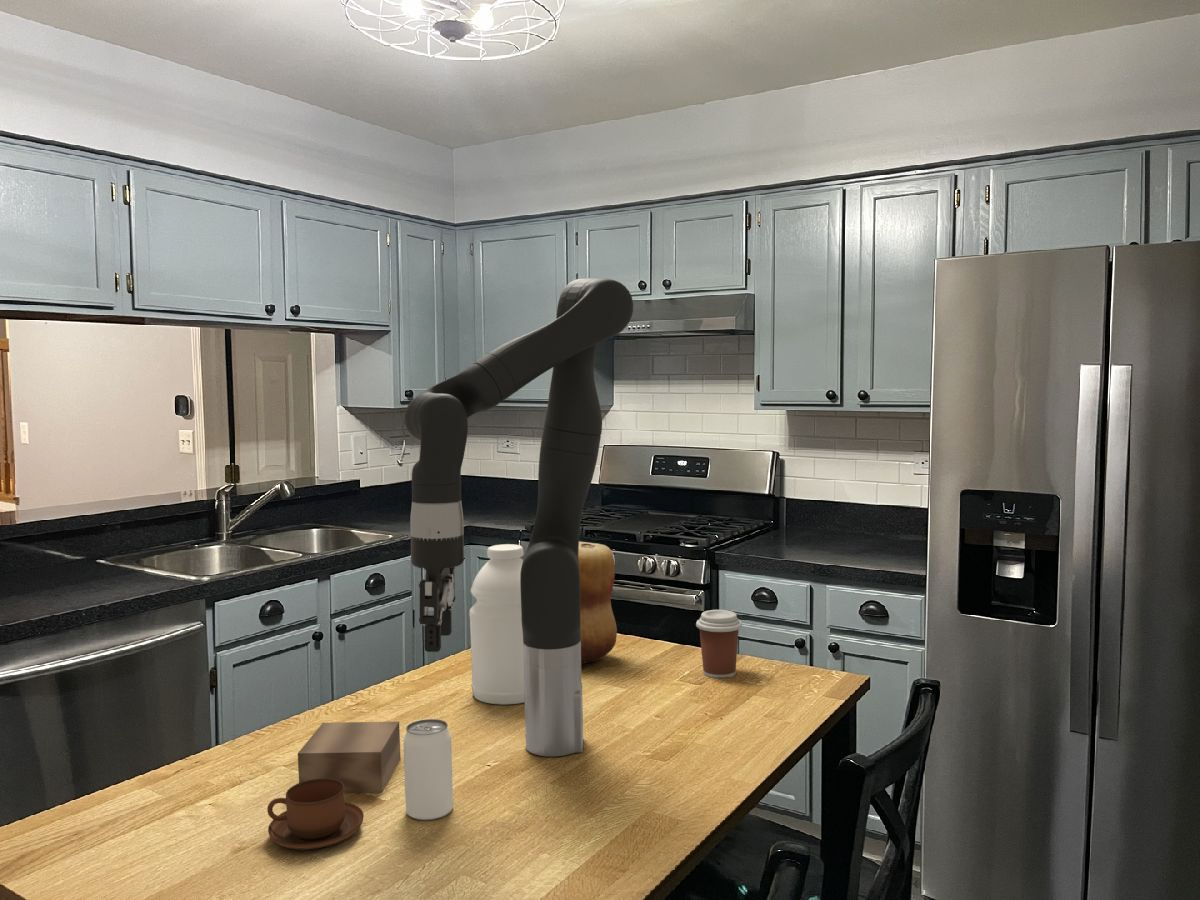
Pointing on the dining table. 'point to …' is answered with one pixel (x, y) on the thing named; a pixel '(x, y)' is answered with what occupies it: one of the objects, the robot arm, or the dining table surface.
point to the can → (428, 769)
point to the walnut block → (352, 755)
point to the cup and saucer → (314, 816)
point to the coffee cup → (719, 642)
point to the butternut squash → (596, 601)
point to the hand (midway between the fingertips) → (438, 642)
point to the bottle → (498, 628)
